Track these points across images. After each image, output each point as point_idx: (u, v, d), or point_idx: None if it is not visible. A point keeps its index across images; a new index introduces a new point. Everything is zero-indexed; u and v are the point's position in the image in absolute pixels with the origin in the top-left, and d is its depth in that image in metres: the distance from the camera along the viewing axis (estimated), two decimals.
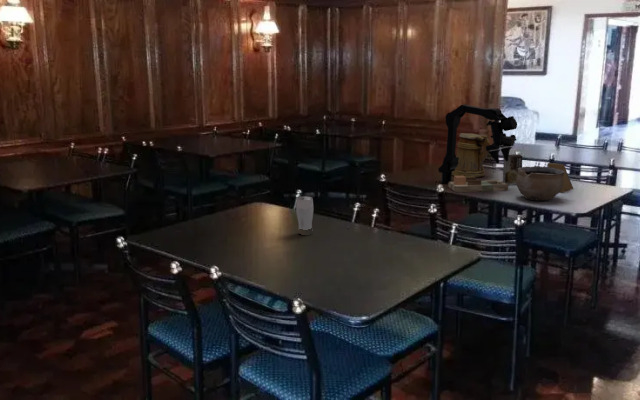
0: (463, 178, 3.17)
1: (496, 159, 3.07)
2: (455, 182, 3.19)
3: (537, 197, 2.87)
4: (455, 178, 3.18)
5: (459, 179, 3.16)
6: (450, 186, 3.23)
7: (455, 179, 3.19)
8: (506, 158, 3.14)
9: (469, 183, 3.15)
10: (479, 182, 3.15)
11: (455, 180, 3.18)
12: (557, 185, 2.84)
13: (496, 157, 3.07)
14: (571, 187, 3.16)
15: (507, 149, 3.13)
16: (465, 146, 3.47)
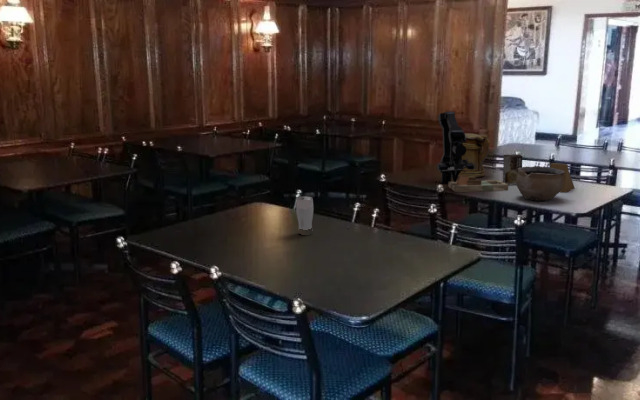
0: (466, 178, 3.17)
1: (453, 178, 3.19)
2: (458, 182, 3.19)
3: (537, 197, 2.87)
4: (458, 178, 3.19)
5: (462, 179, 3.17)
6: (450, 186, 3.23)
7: (457, 179, 3.19)
8: None
9: (469, 183, 3.15)
10: (479, 182, 3.15)
11: (458, 180, 3.18)
12: (557, 185, 2.84)
13: (452, 176, 3.18)
14: (573, 187, 3.17)
15: (456, 171, 3.17)
16: (465, 146, 3.47)
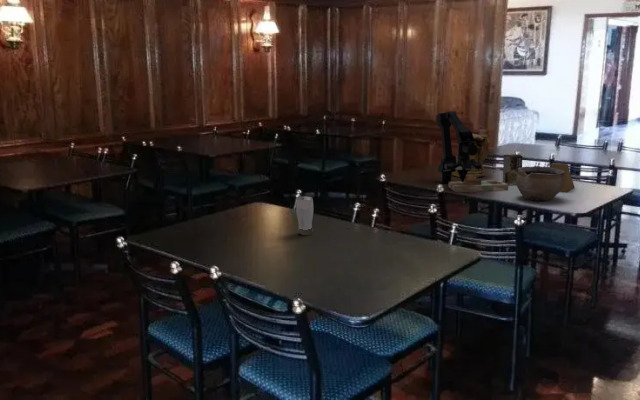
0: (473, 178, 3.17)
1: (460, 178, 3.19)
2: (465, 182, 3.19)
3: (537, 197, 2.87)
4: (465, 178, 3.19)
5: (469, 179, 3.17)
6: (450, 186, 3.23)
7: (465, 179, 3.20)
8: None
9: (469, 183, 3.15)
10: (479, 182, 3.15)
11: (466, 180, 3.18)
12: (557, 185, 2.84)
13: (460, 176, 3.18)
14: (573, 187, 3.17)
15: (464, 171, 3.17)
16: None
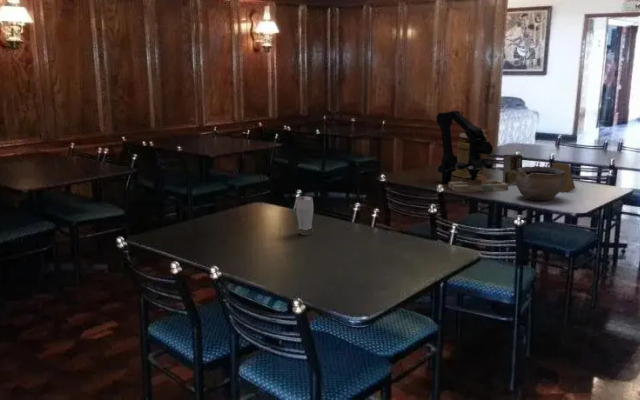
0: (484, 177, 3.17)
1: (471, 177, 3.19)
2: None
3: (537, 197, 2.87)
4: (476, 177, 3.19)
5: (480, 178, 3.17)
6: (450, 186, 3.23)
7: (476, 178, 3.20)
8: None
9: (469, 183, 3.15)
10: (479, 182, 3.15)
11: (476, 179, 3.19)
12: (557, 185, 2.84)
13: (471, 175, 3.19)
14: (573, 186, 3.17)
15: (475, 170, 3.17)
16: (465, 146, 3.47)
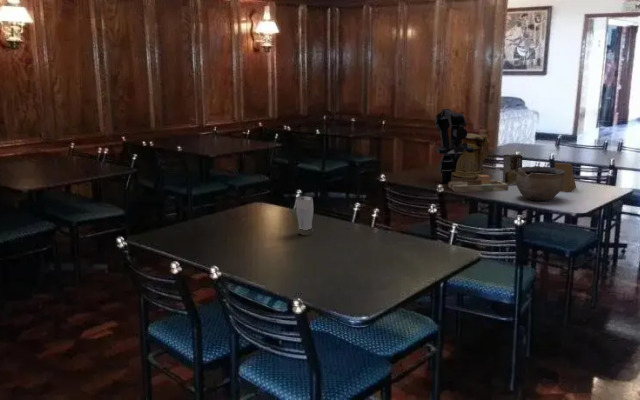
0: (487, 177, 3.18)
1: (453, 161, 3.22)
2: None
3: (537, 197, 2.87)
4: (479, 177, 3.19)
5: (483, 178, 3.17)
6: (450, 186, 3.23)
7: (479, 178, 3.20)
8: None
9: (469, 183, 3.15)
10: (479, 182, 3.15)
11: (479, 179, 3.19)
12: (557, 185, 2.84)
13: (452, 160, 3.21)
14: (575, 186, 3.18)
15: (456, 155, 3.20)
16: None
